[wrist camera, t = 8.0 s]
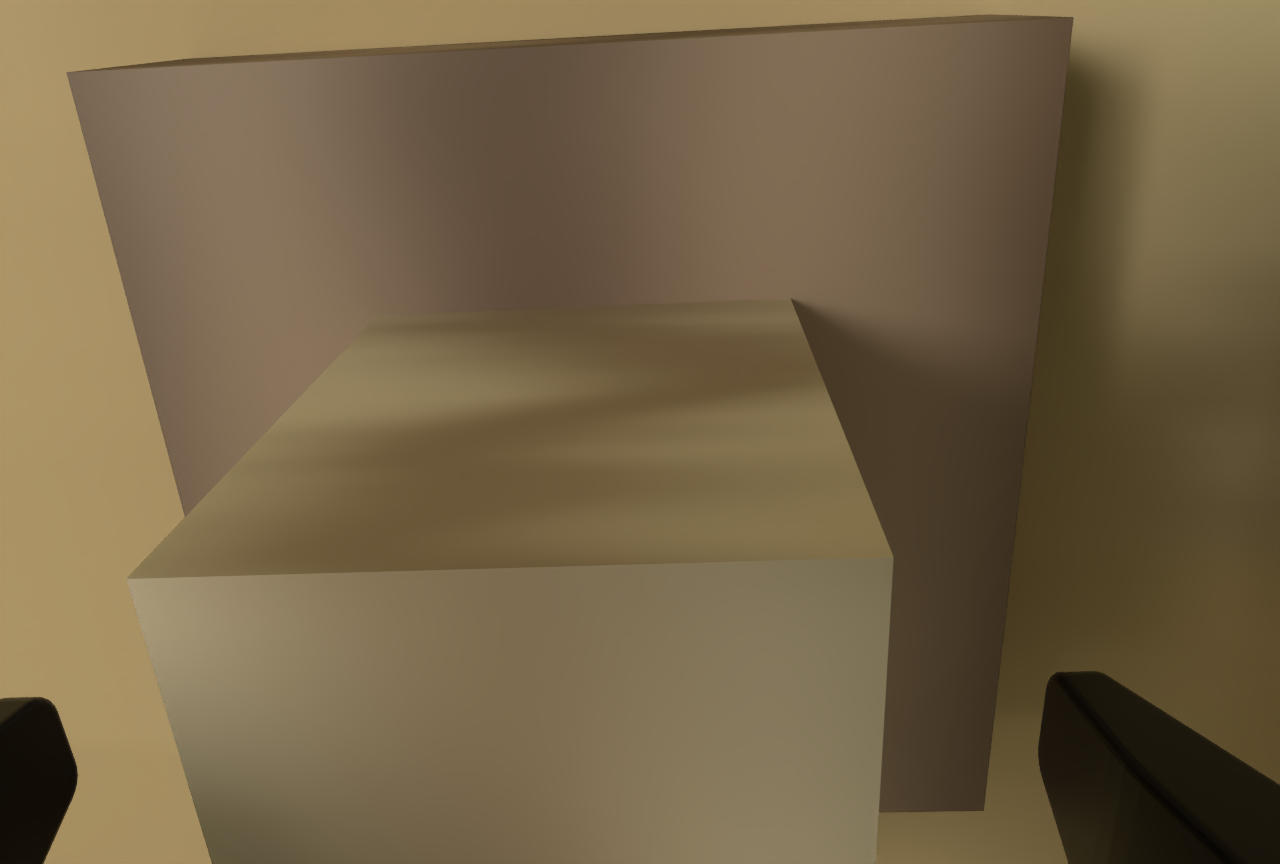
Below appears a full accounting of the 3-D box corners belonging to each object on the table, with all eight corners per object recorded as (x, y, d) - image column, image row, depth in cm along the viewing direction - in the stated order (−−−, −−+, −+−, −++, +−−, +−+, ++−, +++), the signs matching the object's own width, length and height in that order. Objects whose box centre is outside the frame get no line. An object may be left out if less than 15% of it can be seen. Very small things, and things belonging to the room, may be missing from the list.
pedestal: (990, 14, 13) (1072, 16, 10) (935, 684, 18) (984, 810, 15) (188, 59, 14) (66, 72, 11) (327, 697, 18) (266, 822, 15)
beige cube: (790, 297, 12) (894, 556, 6) (787, 646, 14) (862, 1076, 8) (377, 315, 12) (126, 579, 6) (432, 655, 14) (276, 1077, 8)
